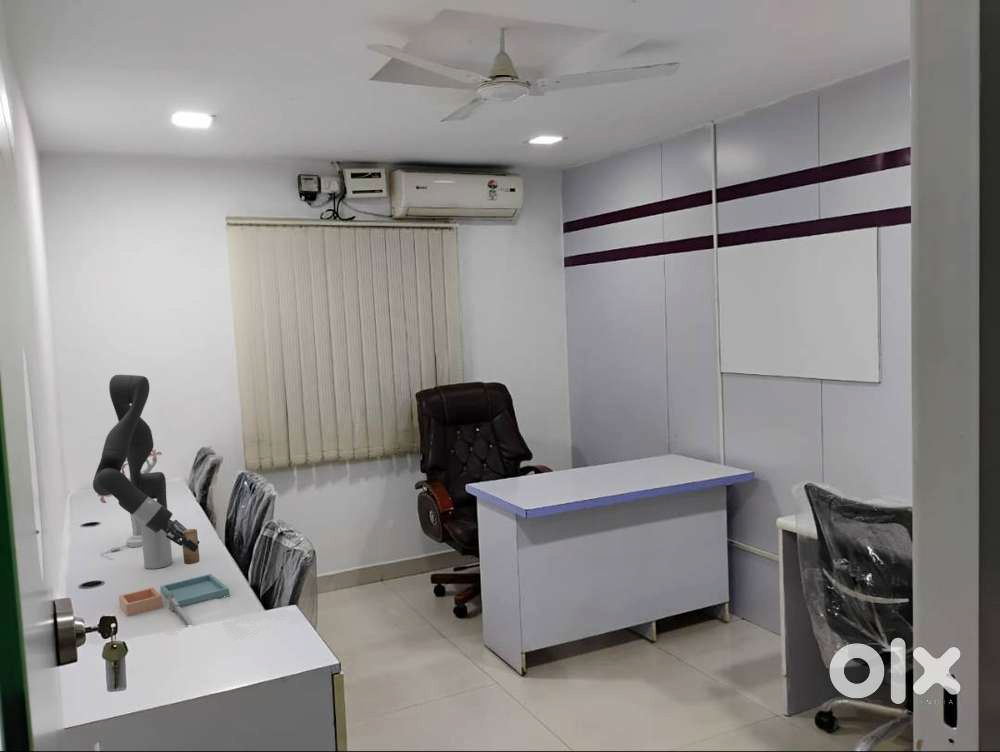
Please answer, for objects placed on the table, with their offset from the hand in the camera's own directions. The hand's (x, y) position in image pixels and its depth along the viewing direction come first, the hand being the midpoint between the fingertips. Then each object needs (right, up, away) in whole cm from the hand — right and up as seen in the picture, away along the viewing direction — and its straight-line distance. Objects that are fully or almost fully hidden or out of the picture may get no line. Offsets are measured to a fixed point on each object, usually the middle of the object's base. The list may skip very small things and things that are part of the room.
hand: (196, 546), depth 256 cm
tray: (-1, -15, +1) cm, 15 cm away
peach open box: (-14, -17, -8) cm, 24 cm away
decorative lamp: (-46, -12, +58) cm, 74 cm away
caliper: (+3, -18, -19) cm, 26 cm away
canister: (-2, -5, 0) cm, 5 cm away
